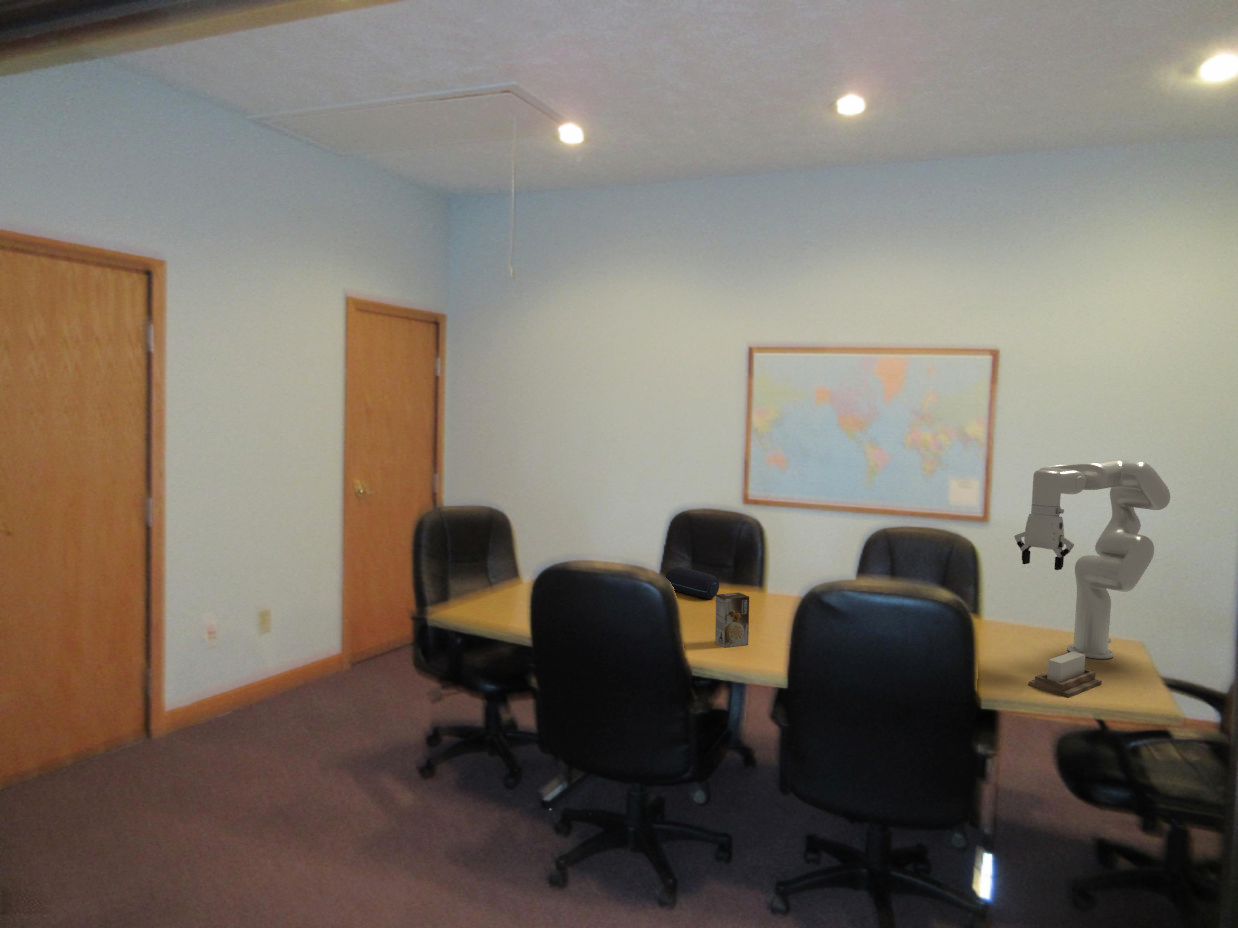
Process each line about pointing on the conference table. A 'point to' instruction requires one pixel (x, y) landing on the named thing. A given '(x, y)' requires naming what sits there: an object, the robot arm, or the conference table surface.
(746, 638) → the coffee box
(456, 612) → the conference table surface
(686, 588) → the portable speaker
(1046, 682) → the rack
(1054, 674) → the light grey block
